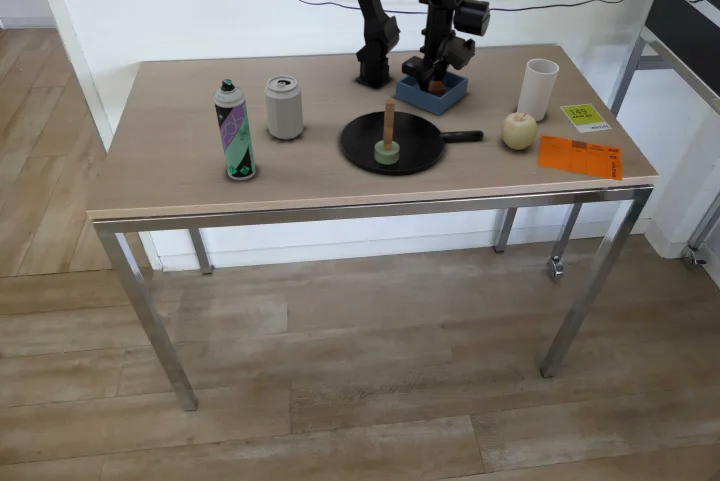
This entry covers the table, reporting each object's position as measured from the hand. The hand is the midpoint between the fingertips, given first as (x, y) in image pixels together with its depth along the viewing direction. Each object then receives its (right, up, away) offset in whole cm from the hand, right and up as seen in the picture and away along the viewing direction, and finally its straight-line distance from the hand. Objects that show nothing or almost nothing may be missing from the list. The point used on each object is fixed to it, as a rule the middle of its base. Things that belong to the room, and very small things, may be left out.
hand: (431, 89), depth 133 cm
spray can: (-41, -22, -21) cm, 51 cm away
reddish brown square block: (+1, -1, 0) cm, 1 cm away
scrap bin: (0, -1, +1) cm, 2 cm away
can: (-33, -12, -10) cm, 37 cm away
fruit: (+16, -15, -12) cm, 26 cm away
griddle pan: (-6, -15, -13) cm, 20 cm away
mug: (+22, -6, -3) cm, 23 cm away
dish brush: (-11, -19, -19) cm, 29 cm away
